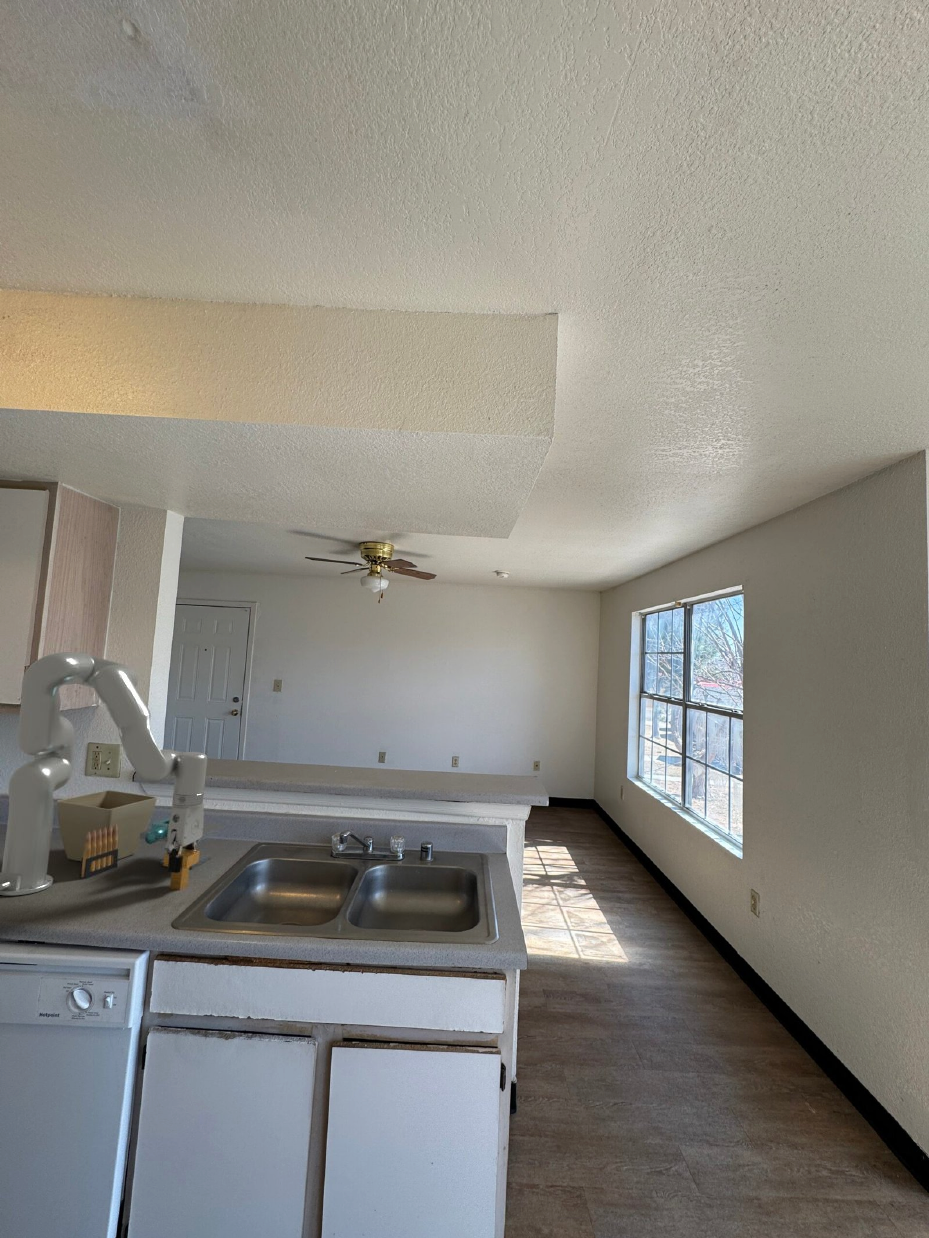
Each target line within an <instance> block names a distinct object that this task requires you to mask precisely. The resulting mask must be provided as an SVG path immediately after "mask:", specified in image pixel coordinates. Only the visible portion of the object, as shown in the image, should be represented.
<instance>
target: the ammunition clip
mask: <svg viewBox="0 0 929 1238" xmlns="http://www.w3.org/2000/svg"><path fill="white" fill-rule="evenodd" d="M101 838H102V839H101ZM117 842H118V838H117V825H115V827H114V829H113V834H112V827H111V826H110V828H109V830H108V833H107V830H106V827H104V829H103V833H101V829H99V830H98V833H97V838H96V832H95V830H94V831H93V833H92V837H91V836H90V832H88V833H87V836H86V841H85V846H84V852H83V858H82V860H81V861H80V867H79V869H80V870H79V878H80V879H88V878H90V877H93V876H96V875H99V874H101V873H105V872H107V871H110V870H114V869H116V868H118V860H119V859H118V849H117Z"/></svg>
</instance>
